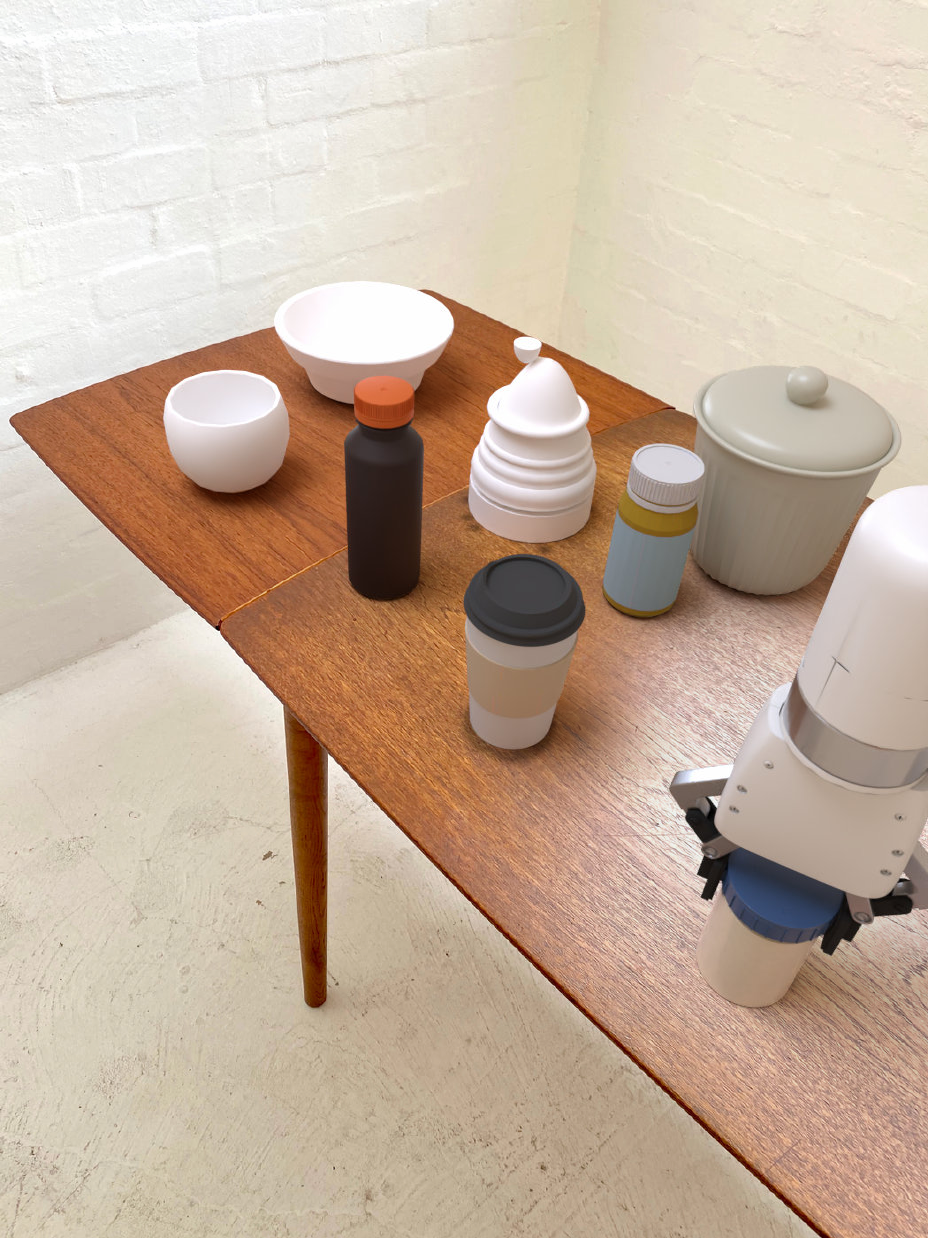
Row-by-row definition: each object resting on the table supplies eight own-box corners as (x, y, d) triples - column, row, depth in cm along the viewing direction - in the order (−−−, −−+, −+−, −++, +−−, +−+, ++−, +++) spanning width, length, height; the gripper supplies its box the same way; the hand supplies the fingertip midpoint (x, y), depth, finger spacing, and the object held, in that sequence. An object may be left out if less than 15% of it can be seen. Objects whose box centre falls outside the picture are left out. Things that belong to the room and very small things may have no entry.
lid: (815, 966, 56) (824, 951, 55) (702, 904, 59) (709, 889, 58) (850, 879, 61) (859, 864, 60) (744, 825, 64) (751, 810, 62)
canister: (826, 645, 89) (909, 448, 75) (637, 584, 94) (680, 388, 80) (855, 538, 102) (931, 351, 87) (686, 489, 107) (732, 305, 92)
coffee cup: (574, 691, 83) (599, 554, 73) (552, 772, 77) (577, 632, 67) (472, 667, 85) (483, 529, 75) (442, 744, 78) (450, 604, 68)
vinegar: (388, 611, 90) (388, 420, 76) (333, 580, 92) (324, 390, 79) (434, 575, 94) (442, 388, 80) (380, 546, 97) (379, 361, 83)
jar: (801, 944, 67) (845, 865, 61) (779, 1025, 63) (824, 949, 56) (710, 904, 69) (744, 823, 62) (683, 980, 65) (716, 902, 58)
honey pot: (452, 526, 100) (461, 365, 87) (487, 460, 109) (500, 306, 97) (575, 554, 97) (602, 393, 85) (601, 485, 106) (628, 330, 94)
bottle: (594, 610, 91) (620, 476, 81) (608, 566, 96) (634, 434, 86) (669, 628, 90) (705, 494, 80) (679, 582, 95) (714, 450, 85)
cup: (312, 492, 103) (307, 410, 96) (199, 525, 97) (186, 442, 91) (264, 435, 110) (256, 356, 104) (157, 464, 105) (142, 383, 98)
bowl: (350, 447, 109) (348, 381, 104) (245, 373, 120) (238, 309, 115) (486, 389, 120) (491, 327, 115) (379, 326, 131) (378, 266, 126)
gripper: (1052, 734, 49) (921, 921, 61) (717, 615, 54) (657, 809, 66) (1043, 844, 44) (902, 1025, 56) (674, 701, 49) (618, 895, 61)
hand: (770, 907), depth 61 cm, fingers closed on lid, 6 cm apart
